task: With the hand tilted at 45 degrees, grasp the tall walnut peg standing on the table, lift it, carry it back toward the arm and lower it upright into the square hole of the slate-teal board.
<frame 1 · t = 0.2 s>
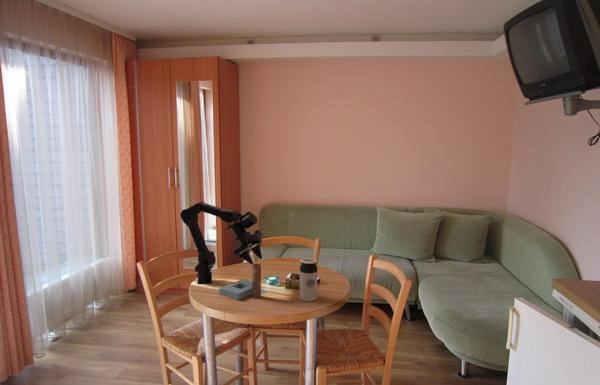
hand: (257, 261, 182), 14 cm above the table, tool tilted 35°, fingers open, 9 cm apart
socket board: (240, 292, 181), on the table
travel mug: (308, 298, 174), on the table
peg: (256, 296, 175), on the table
gavel: (294, 282, 196), on the table
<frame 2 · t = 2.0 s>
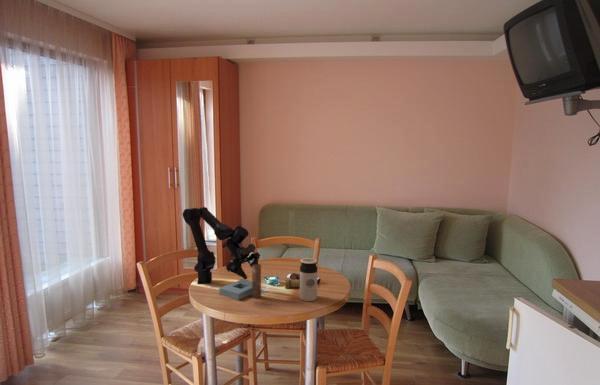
hand: (253, 276, 176), 9 cm above the table, tool tilted 45°, fingers open, 9 cm apart
nothing on the table moved.
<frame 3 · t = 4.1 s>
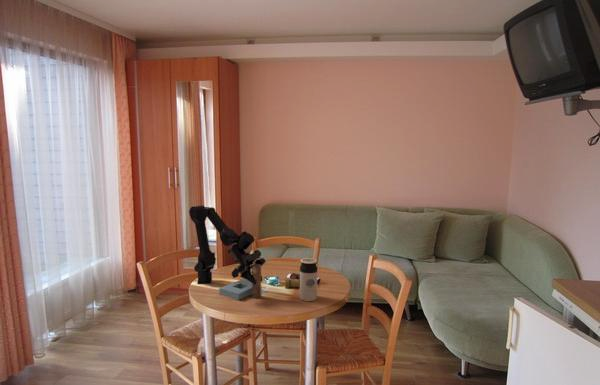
hand: (258, 282, 174), 7 cm above the table, tool tilted 45°, fingers closed on peg, 4 cm apart
peg: (256, 296, 175), on the table, touching gripper
everything else where it was.
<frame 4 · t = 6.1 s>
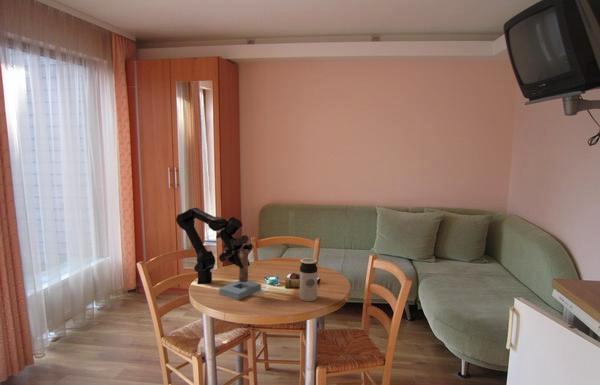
hand: (245, 266, 178), 13 cm above the table, tool tilted 45°, fingers closed on peg, 4 cm apart
peg: (243, 280, 179), point 6 cm above the table, touching gripper
everything else where it was.
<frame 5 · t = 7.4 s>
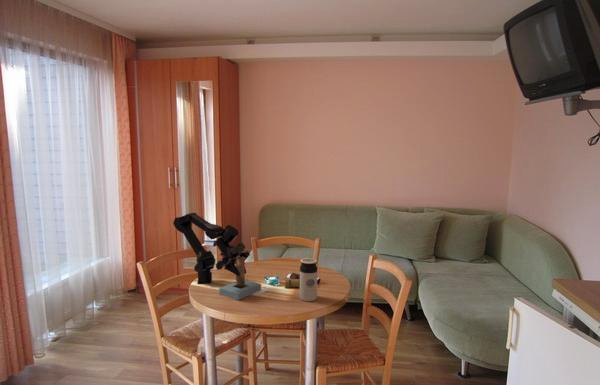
hand: (242, 274, 179), 9 cm above the table, tool tilted 45°, fingers closed on peg, 4 cm apart
peg: (240, 288, 181), point 2 cm above the table, touching gripper
everything else where it was.
when the fingers open (8 cm above the table, at t = 8.2 s): peg drops 1 cm, resting in socket board.
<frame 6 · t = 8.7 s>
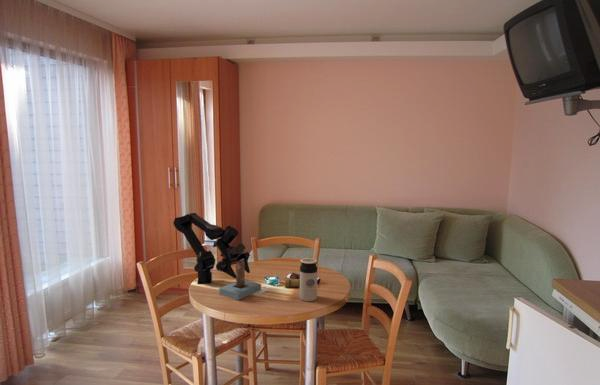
hand: (242, 275, 179), 9 cm above the table, tool tilted 45°, fingers open, 9 cm apart
peg: (240, 292, 181), resting in socket board
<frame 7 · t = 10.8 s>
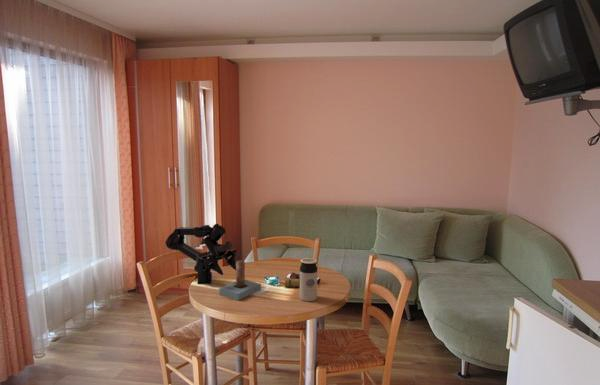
hand: (229, 272, 184), 8 cm above the table, tool tilted 45°, fingers open, 9 cm apart
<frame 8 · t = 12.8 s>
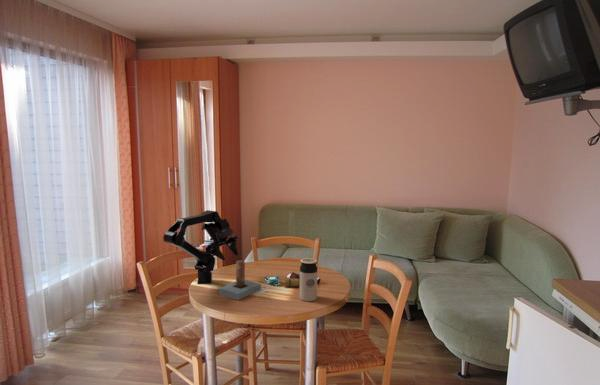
hand: (231, 257, 191), 14 cm above the table, tool tilted 45°, fingers open, 9 cm apart
at the end: peg 0.0 cm off-centre on the socket board, point 0.0 cm above the socket board's base; peg tilted 0°; the gripper is holding nothing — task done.
